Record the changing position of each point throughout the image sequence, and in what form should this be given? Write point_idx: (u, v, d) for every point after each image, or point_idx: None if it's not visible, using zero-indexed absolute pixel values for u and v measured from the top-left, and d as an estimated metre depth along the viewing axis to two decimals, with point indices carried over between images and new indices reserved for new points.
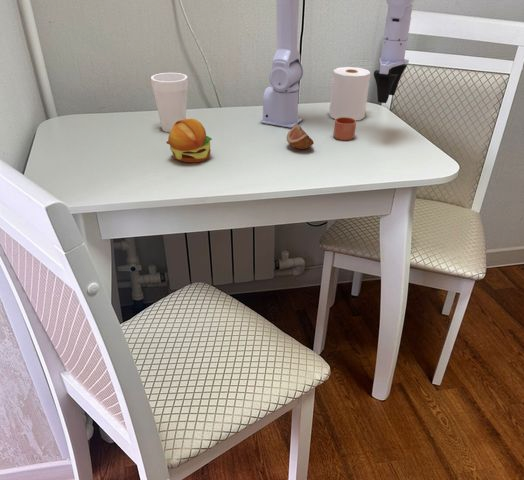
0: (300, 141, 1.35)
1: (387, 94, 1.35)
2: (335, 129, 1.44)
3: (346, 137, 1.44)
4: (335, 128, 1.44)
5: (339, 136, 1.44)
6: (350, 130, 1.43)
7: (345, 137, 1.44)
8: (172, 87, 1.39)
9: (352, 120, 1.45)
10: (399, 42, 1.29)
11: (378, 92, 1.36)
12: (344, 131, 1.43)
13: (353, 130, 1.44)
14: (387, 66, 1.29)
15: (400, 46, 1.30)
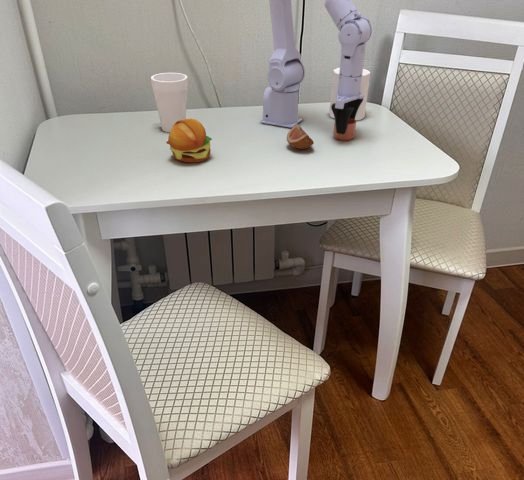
0: (300, 141, 1.35)
1: (345, 126, 1.41)
2: (335, 129, 1.44)
3: (346, 137, 1.44)
4: (335, 128, 1.44)
5: (339, 136, 1.44)
6: (350, 130, 1.43)
7: (345, 137, 1.44)
8: (172, 87, 1.39)
9: (352, 120, 1.45)
10: (354, 78, 1.35)
11: (336, 124, 1.42)
12: None
13: (353, 130, 1.44)
14: (342, 101, 1.34)
15: (355, 82, 1.35)
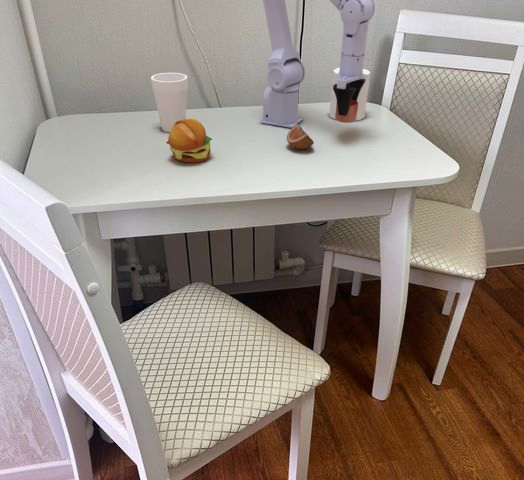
0: (300, 141, 1.35)
1: (347, 107, 1.38)
2: (337, 111, 1.41)
3: (348, 119, 1.41)
4: (337, 110, 1.41)
5: (341, 118, 1.41)
6: (352, 112, 1.40)
7: (347, 119, 1.41)
8: (172, 87, 1.39)
9: (354, 102, 1.42)
10: (356, 57, 1.32)
11: (338, 105, 1.39)
12: None
13: (355, 112, 1.41)
14: (344, 81, 1.31)
15: (357, 61, 1.32)
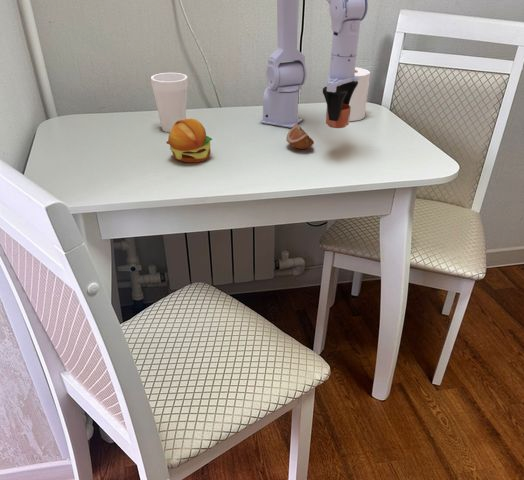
0: (300, 141, 1.35)
1: (338, 112, 1.28)
2: (327, 116, 1.31)
3: (339, 124, 1.31)
4: (327, 114, 1.31)
5: (332, 123, 1.31)
6: (344, 116, 1.30)
7: (338, 124, 1.31)
8: (172, 87, 1.39)
9: (346, 106, 1.32)
10: (347, 58, 1.21)
11: (328, 110, 1.28)
12: None
13: (347, 117, 1.30)
14: (334, 84, 1.21)
15: (348, 62, 1.22)
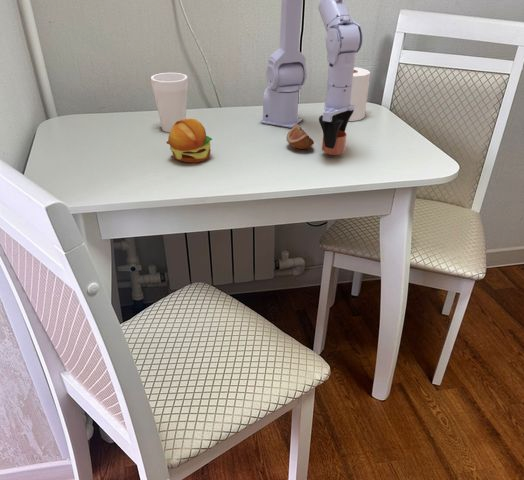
0: (300, 141, 1.35)
1: (334, 139, 1.31)
2: (324, 143, 1.34)
3: (335, 151, 1.33)
4: None
5: (328, 150, 1.34)
6: (340, 144, 1.32)
7: (334, 151, 1.33)
8: (172, 87, 1.39)
9: (342, 133, 1.35)
10: (343, 88, 1.24)
11: (324, 137, 1.31)
12: None
13: (343, 144, 1.33)
14: (330, 114, 1.24)
15: (344, 92, 1.25)
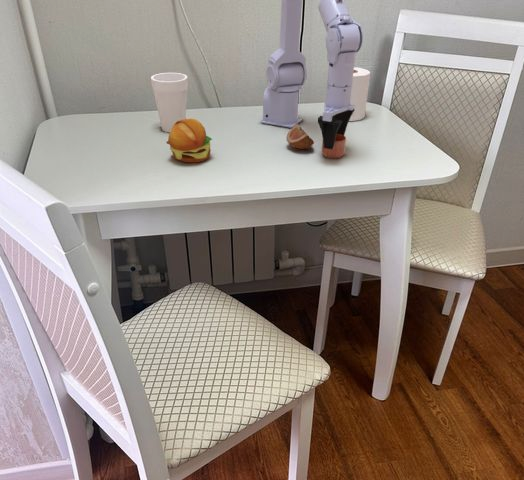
0: (300, 141, 1.35)
1: (333, 140, 1.30)
2: (323, 146, 1.34)
3: (335, 155, 1.34)
4: (323, 145, 1.34)
5: (328, 154, 1.34)
6: (339, 148, 1.33)
7: (334, 155, 1.34)
8: (172, 87, 1.39)
9: (342, 137, 1.35)
10: (343, 88, 1.24)
11: (323, 138, 1.31)
12: (332, 149, 1.33)
13: (343, 148, 1.34)
14: (330, 113, 1.24)
15: (344, 92, 1.25)
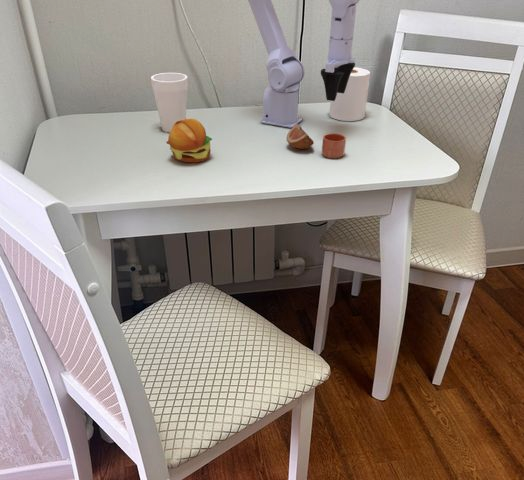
0: (300, 141, 1.35)
1: (335, 92, 1.38)
2: (323, 146, 1.34)
3: (335, 155, 1.34)
4: (323, 145, 1.34)
5: (328, 154, 1.34)
6: (339, 148, 1.33)
7: (334, 155, 1.34)
8: (172, 87, 1.39)
9: (342, 137, 1.35)
10: (344, 41, 1.32)
11: (326, 90, 1.39)
12: (332, 149, 1.33)
13: (343, 148, 1.34)
14: (332, 64, 1.32)
15: (345, 45, 1.33)
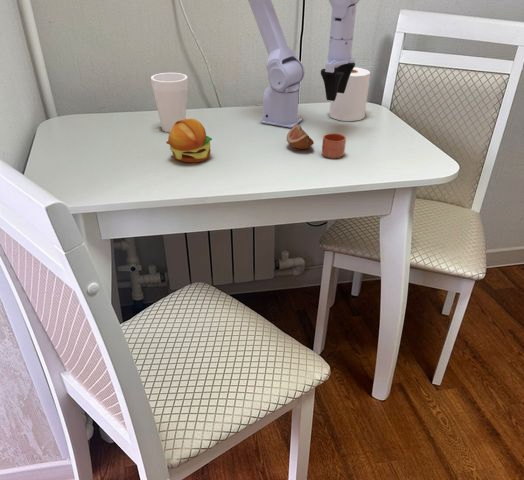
0: (300, 141, 1.35)
1: (335, 92, 1.38)
2: (323, 146, 1.34)
3: (335, 155, 1.34)
4: (323, 145, 1.34)
5: (328, 154, 1.34)
6: (339, 148, 1.33)
7: (334, 155, 1.34)
8: (172, 87, 1.39)
9: (342, 137, 1.35)
10: (344, 41, 1.32)
11: (326, 90, 1.39)
12: (332, 149, 1.33)
13: (343, 148, 1.34)
14: (332, 64, 1.32)
15: (345, 45, 1.33)
